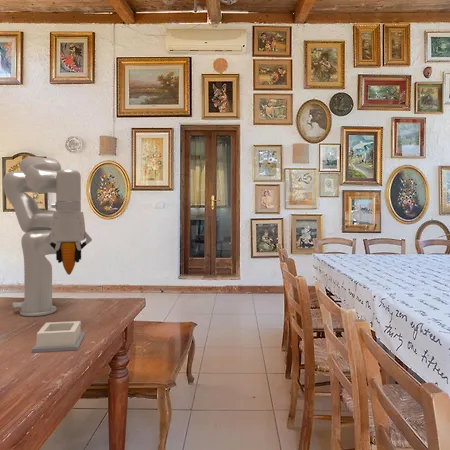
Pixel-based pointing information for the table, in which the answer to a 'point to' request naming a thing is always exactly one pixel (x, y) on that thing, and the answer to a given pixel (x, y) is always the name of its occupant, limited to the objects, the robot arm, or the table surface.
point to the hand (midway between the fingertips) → (68, 261)
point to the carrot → (68, 255)
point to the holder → (59, 337)
